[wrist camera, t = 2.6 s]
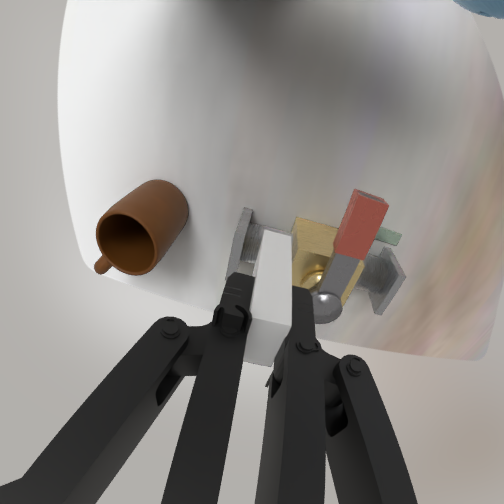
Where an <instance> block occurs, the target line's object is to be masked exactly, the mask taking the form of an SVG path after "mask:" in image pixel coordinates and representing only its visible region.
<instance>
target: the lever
mask: <svg viewBox="0 0 504 504" xmlns="http://www.w3.org/2000/svg"><path fill="white" fill-rule="evenodd" d="M388 207H389V205H388V204H387V203H386V201H385V200H384V199H382V198H380V197H377V196H374V195H371V194H369V193H366V192H363V191H360V190H357V189H354V191H353V194H352V196H351V199H350V202H349V204H348V207H347V209H346V212H345V214H344V217H343V220H342V222H341V225H340V227H339V229H338V232H337V234H336V237H335V239H334V242H333V247H334V249H333V252H332V254H331V256H330V259H329V261H328V263H327V265H326V268H325V270H324V272H323V274H322V276H321V279H320V281H319V283H318V285H316V286H313V287H311V288H310V289H308V290H309V292H310V294H311V295H312V297H313V309H314V312H313V313H314V322H315V323H316V324H326V323H329V322H332V321H334V320H335V319H337V318H338V317H339V316H340V314H341V312H342V303H341V296H342V294H343V293H344V291H345V289H346V287H347V285H348V283H349V281H350V279H351V278H352V276H353V274H354V272H355V270H356V268H357V266H358V264H359V262H360V260H364V259H365V257H366V255H367V253H368V251H369V249H370V247H371V245H372V243H373V241H374V238H375V236H376V234H377V232H378V230H379V228H380V225H381V223H382V221H383V219H384V216H385V214H386V212H387V210H388Z"/></svg>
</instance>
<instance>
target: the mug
mask: <svg viewBox="0 0 504 504" xmlns="http://www.w3.org/2000/svg"><path fill="white" fill-rule="evenodd" d="M187 217H188V206H187V202H186V200H185V197H184V196H183V194H182V193H181V191H180V190H179V189H178V188H177V187H176V186H174V185H173V184H171V183H169V182H167V181H163V180H152V181H148V182H146V183H144V184H142V185H140V186H139V187H138V188H136V189H135V190H133V191H132V192H130V193H129V194H128V195H126V196H125V197H124V198H122V199H121V200H120V201H118V202H117V203H116V204H114V205H113V206H112V207H111V208H110V209H109V210H108V211H107V212H106V213H105V214H104V215H103V216H102V217H101V218H100V220H99V222H98V224H97V228H96V240H97V244H98V247H99V249H100V251H101V253H102V256H101V257H100V258H99V260H98V261H97V262H96V263H95V265H94V269H95V271H96V273H98V274H100V275H101V274H104V273H106V272H107V271H108V270H109V269H110V268H111V267H112V266H113V267H115V268H116V269H117V270H119V271H121V272H123V273H126V274H129V275H143V274H146V273H148V272H150V271H151V270H152V269H153V268H154V267H155V266H156V265H157V263H158V262H159V261H160V260H161V259H162V258H163V256H164V255H165V253H166V252H167V250H168V249H169V248H170V246H171V245H172V243H173V242H174V240H175V239H176V237H177V236H178V234H179V233H180V232H181V230H182V229H183V227H184V225H185V223H186V221H187Z"/></svg>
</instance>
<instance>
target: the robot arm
mask: <svg viewBox="0 0 504 504" xmlns="http://www.w3.org/2000/svg"><path fill="white" fill-rule="evenodd" d="M453 1H454V2H456V3H457V4H458V5H460V6H461V7H463V8H465V9H467V10H469V11H471V12H473V13H476V14H478V15H483V16H487V17H496V18H498V19H504V0H453ZM313 312H314V309H313V297H312V295H311V294H310V292H309V290H308V289H306V288H302V287H298V286H293V285H292V248H291V236H288V235H284V234H280V233H276V232H272V231H268V230H264V234H263V237H262V241H261V245H260V248H259V252H258V256H257V259H256V263H255V266H254V270H253V276H249V275H245V274H241V273H237V272H233V273H232V274H231V275H230V276H229V277H228V278H227V281H226V285H225V288H224V291H223V294H222V297H221V301H220V304H219V305H217V307H216V308H215V310H214V315H213V320H212V322H210V323H209V324H207V325H204V326H191V327H189V326H187V325H186V323H185V322H184V321H182V320H181V319H179V318H176V317H164V318H161V319H159V320H157V321H156V322H155V323H154V324H153V325H152V326H151V327H150V328H149V329H148V330H147V332H146V333H145V334H144V335H143V336H142V337H141V338H140V339H139V340H138V342H137V343H136V344H135V345H134V346H133V347H132V348H131V349H130V350H129V352H128V353H127V354H126V355H125V356H124V357H123V358H122V360H120V362H119V363H118V364H117V365H116V366H115V367H114V368H113V370H112V371H111V372H110V373H109V374H108V375H107V376H106V378H105V379H104V380H103V381H102V382H101V383H100V384H99V385H98V387H97V388H96V389H95V390H94V391H93V392H92V394H91V395H90V396H89V397H88V398H87V399H86V400H85V402H84V403H83V404H82V405H81V406H80V408H79V409H78V410H77V411H76V412H75V413H74V415H73V416H72V417H71V418H70V419H69V421H68V422H67V423H66V424H65V425H64V427H63V428H62V429H61V430H60V431H59V432H58V434H57V435H56V436H55V437H54V439H53V440H52V441H51V442H50V443H49V445H48V446H47V447H46V448H45V449H44V451H43V452H42V453H41V454H40V456H39V457H38V458H37V459H36V461H35V462H34V463H33V464H32V466H31V467H30V468H29V470H28V471H27V472H26V473H25V474H24V476H23V477H22V478H20V479H18V480H15V481H13V482H10V483H8V484H5V485H3V486H0V504H95V503H96V502H97V500H98V499H99V498H100V497H101V495H102V494H103V492H104V491H105V489H106V488H107V487H108V486H109V484H110V483H111V481H112V480H113V479H114V477H115V476H116V474H117V473H118V472H119V470H120V469H121V467H122V466H123V465H124V463H125V462H126V460H127V459H128V457H129V456H130V455H131V453H132V452H133V450H134V449H135V448H136V446H137V445H138V443H139V442H140V440H141V439H142V438H143V436H144V434H145V433H146V432H147V430H148V429H149V428H150V426H151V425H152V423H153V422H154V420H155V419H156V417H157V416H158V414H159V413H160V412H161V410H162V409H163V407H164V406H165V404H166V403H167V402H168V400H169V399H170V397H171V396H172V394H173V393H174V391H175V390H176V388H177V387H178V385H179V384H180V383H181V381H182V380H183V378H184V377H185V376H196V379H195V383H194V387H193V390H192V393H191V397H190V400H189V403H188V407H187V411H186V414H185V417H184V421H183V425H182V429H181V432H180V435H179V439H178V442H177V446H176V450H175V453H174V457H173V461H172V464H171V468H170V472H169V475H168V479H167V483H166V487H165V490H164V494H163V499H162V502H161V504H217V502H218V496H219V491H220V486H221V481H222V475H223V470H224V465H225V459H226V453H227V448H228V443H229V437H230V431H231V426H232V420H233V414H234V409H235V404H236V398H237V392H238V386H239V380H240V375H241V370H242V364H243V361H244V362H248V363H253V364H258V365H263V366H268V367H271V366H272V364H273V362H274V370H273V372H272V374H271V375H270V377H269V379H268V381H267V383H266V386H265V387H268V386H269V391H268V401H267V410H266V420H265V429H264V437H263V445H262V453H261V461H260V469H259V477H258V484H257V491H256V498H255V504H324V495H325V460H326V459H325V458H326V455H325V454H327V457H328V462H329V465H330V469H331V473H332V477H333V482H334V486H335V490H336V494H337V498H338V502H339V504H418V503H417V500H416V496H415V493H414V490H413V486H412V483H411V480H410V476H409V473H408V470H407V467H406V464H405V461H404V458H403V455H402V452H401V449H400V447H399V444H398V441H397V438H396V436H395V433H394V430H393V428H392V425H391V422H390V419H389V417H388V414H387V411H386V409H385V406H384V404H383V401H382V399H381V396H380V394H379V391H378V389H377V386H376V384H375V381H374V379H373V377H372V374H371V372H370V370H369V367H368V365H367V364H366V362H365V361H364V360H363V359H362V358H360V357H358V356H356V355H346V356H344V357H343V358H342V359H339V358H337V357H335V356H332V355H330V354H328V353H326V352H325V351H324V350H323V349H322V348H321V344H320V343H319V342H318V340H317V339H316V337H315V322H314V313H313Z"/></svg>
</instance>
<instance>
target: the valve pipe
mask: <svg viewBox="0 0 504 504" xmlns="http://www.w3.org/2000/svg"><path fill="white" fill-rule="evenodd" d="M252 211H253V210H251V209H247V208H244V210H243V212H242V215H241V218H240V220H239V223H238V226H237V228H236V231H235V235H234V239H233V244H232V249H231V254H230V259H229V264H228V268H227V273H226V278H225V280H227V278H228V277H229V276H230V275H231V274H232V273H233V272H237V270H238V267H239V263H240V260H241V261H245V262H249V263H253V264H255V263H256V259H257V256H258V252H259V248H260V245H261V241H262V237H263V234H264V230H268V231H272V232H276V233H280V234H284V235H288V236H291V248H292V285H293V286H298V287H302V288H306V289H310V288H311V287H313V286H316V285H318V283H319V281H320V279H321V276H322V274H323V272H324V270H325V268H326V265H327V263H328V261H329V259H330V256H331V254H332V252H333V249H334V247H333V242H334V239H335V237H336V234H337V232H338V228H334V227H331V226H327V225H324V224H320V223H317V222H313V221H309V220H306V219H302V218H298V217H296V219H295V222H294V225H293V228H292V231H291V233H290V232H286V231H282V230H278V229H274V228H270V227H266V226H262V225H258V224H254V223H250V219H251V215H252ZM401 236H402V234H399V233H396V232H393V231H391V230H388V229H385V228H382V227H380V228H379V230H378V232H377V234H376V236H375V238H374V239H377V240H380V241H384V242H387V243H390V244H393V245H396V246H397V244H398V242H399V240H400V238H401ZM405 278H406V276H405V274H404V272H403V270H402V268H401V266H400V264H399V263H398V261H397V259H396V257H395V255H394V253H393V252H392V250H391V248H388V247H384V248H383V250H382V252H381V254H380V256H379V257H377V256H373V255H370V254H367V255H366V257H365V259H364V260H360V262H359V264H358V266H357V268H356V270H355V272H354V274H353V276H352V278H351V279H350V281H349V283H348V285H347V287H346V289H345V291H344V293H343V294H342V296H341V303H342V307H343V305H344V304H345V302H346V300H347V298H348V297H349V295H350V293H351V291H352V289H353V288H356V289H360V290H364V291H368V293H369V297H370V300H371V303H372V306H373V310H374V313H375V314H377V315H382V314H383V312H384V311H385V309H386V308H387V306H388V305H389V303H390V302H391V300H392V299H393V297H394V296H395V294H396V292H397V291H398V289H399V288H400V286H401V284H402V283H403V281H404V280H405Z"/></svg>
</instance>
